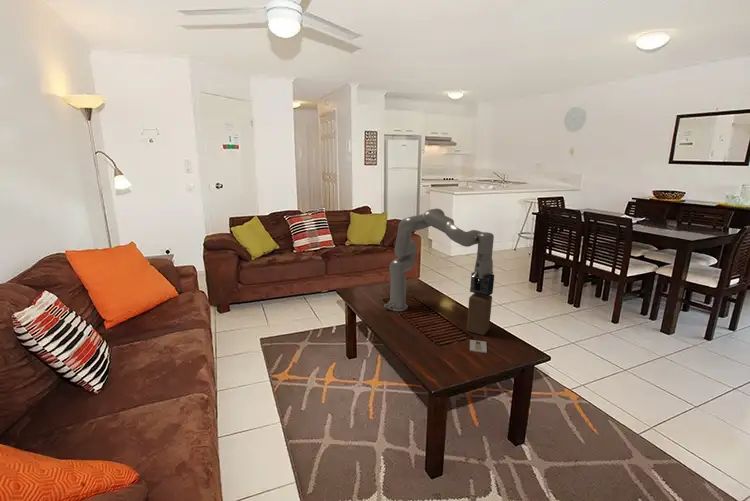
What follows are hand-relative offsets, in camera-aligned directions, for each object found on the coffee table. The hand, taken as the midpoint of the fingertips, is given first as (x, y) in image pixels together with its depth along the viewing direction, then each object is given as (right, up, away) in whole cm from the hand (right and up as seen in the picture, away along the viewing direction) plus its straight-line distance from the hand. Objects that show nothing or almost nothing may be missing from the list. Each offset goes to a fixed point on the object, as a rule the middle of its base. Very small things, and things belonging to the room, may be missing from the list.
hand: (481, 288), depth 204 cm
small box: (0, -2, +1) cm, 3 cm away
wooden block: (0, -24, +6) cm, 25 cm away
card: (-5, -28, -12) cm, 31 cm away
